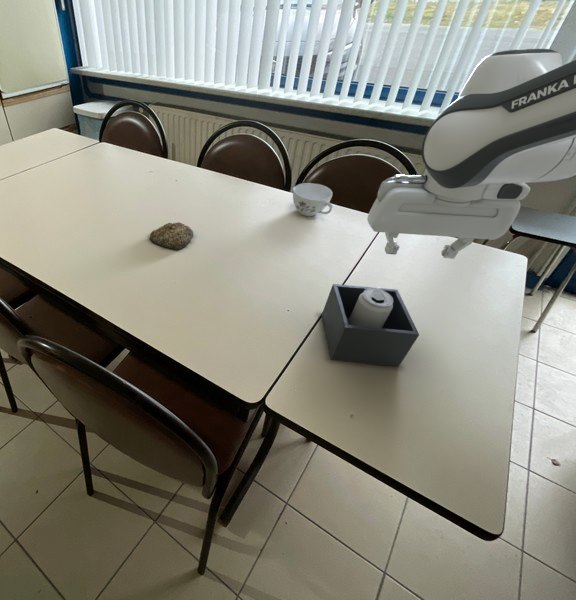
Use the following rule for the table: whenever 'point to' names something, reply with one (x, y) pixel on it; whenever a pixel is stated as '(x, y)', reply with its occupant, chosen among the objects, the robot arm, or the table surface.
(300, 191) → the teacup
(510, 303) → the table surface
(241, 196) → the table surface
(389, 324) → the waste bin
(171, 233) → the speckled grey pebble
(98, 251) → the table surface
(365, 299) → the beverage can
